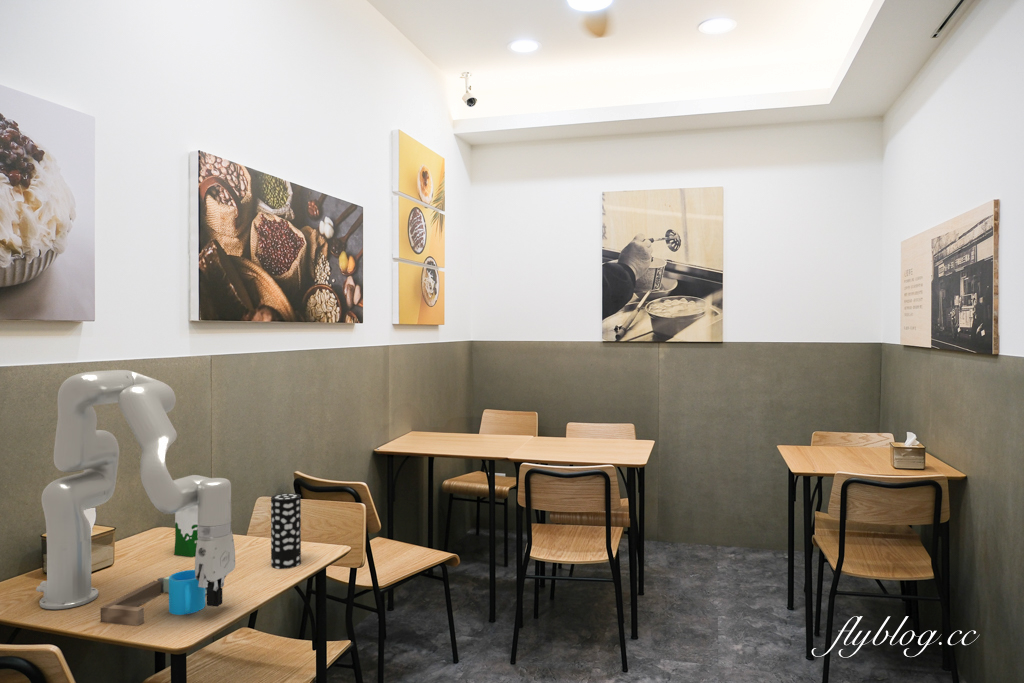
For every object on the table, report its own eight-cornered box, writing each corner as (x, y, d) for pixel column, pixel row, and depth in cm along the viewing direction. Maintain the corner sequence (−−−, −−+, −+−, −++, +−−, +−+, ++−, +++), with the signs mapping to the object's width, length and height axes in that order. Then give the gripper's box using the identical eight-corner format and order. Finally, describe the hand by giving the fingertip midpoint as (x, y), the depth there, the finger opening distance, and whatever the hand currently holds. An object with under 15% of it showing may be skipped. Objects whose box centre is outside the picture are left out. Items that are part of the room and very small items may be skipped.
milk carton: (191, 547, 218) (191, 484, 218) (214, 550, 215) (213, 486, 215) (169, 555, 210) (169, 490, 210) (192, 558, 207) (192, 492, 207)
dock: (100, 622, 161) (100, 607, 161) (162, 589, 182) (162, 576, 182) (152, 627, 159) (152, 612, 159) (209, 593, 180) (209, 579, 180)
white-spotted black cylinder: (265, 567, 200) (265, 498, 199) (282, 558, 208) (282, 492, 207) (289, 570, 197) (289, 500, 197) (306, 561, 205) (306, 494, 205)
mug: (168, 605, 172) (168, 572, 172) (204, 599, 175) (204, 567, 175) (169, 623, 161) (168, 588, 161) (206, 616, 165) (206, 583, 165)
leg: (163, 592, 179) (163, 578, 179) (168, 589, 181) (168, 576, 181) (202, 595, 176) (202, 582, 176) (207, 592, 178) (207, 579, 178)
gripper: (209, 540, 159) (209, 618, 159) (245, 522, 173) (246, 594, 173) (180, 538, 160) (180, 616, 160) (219, 520, 175) (219, 592, 175)
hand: (214, 604), depth 167 cm, fingers closed
